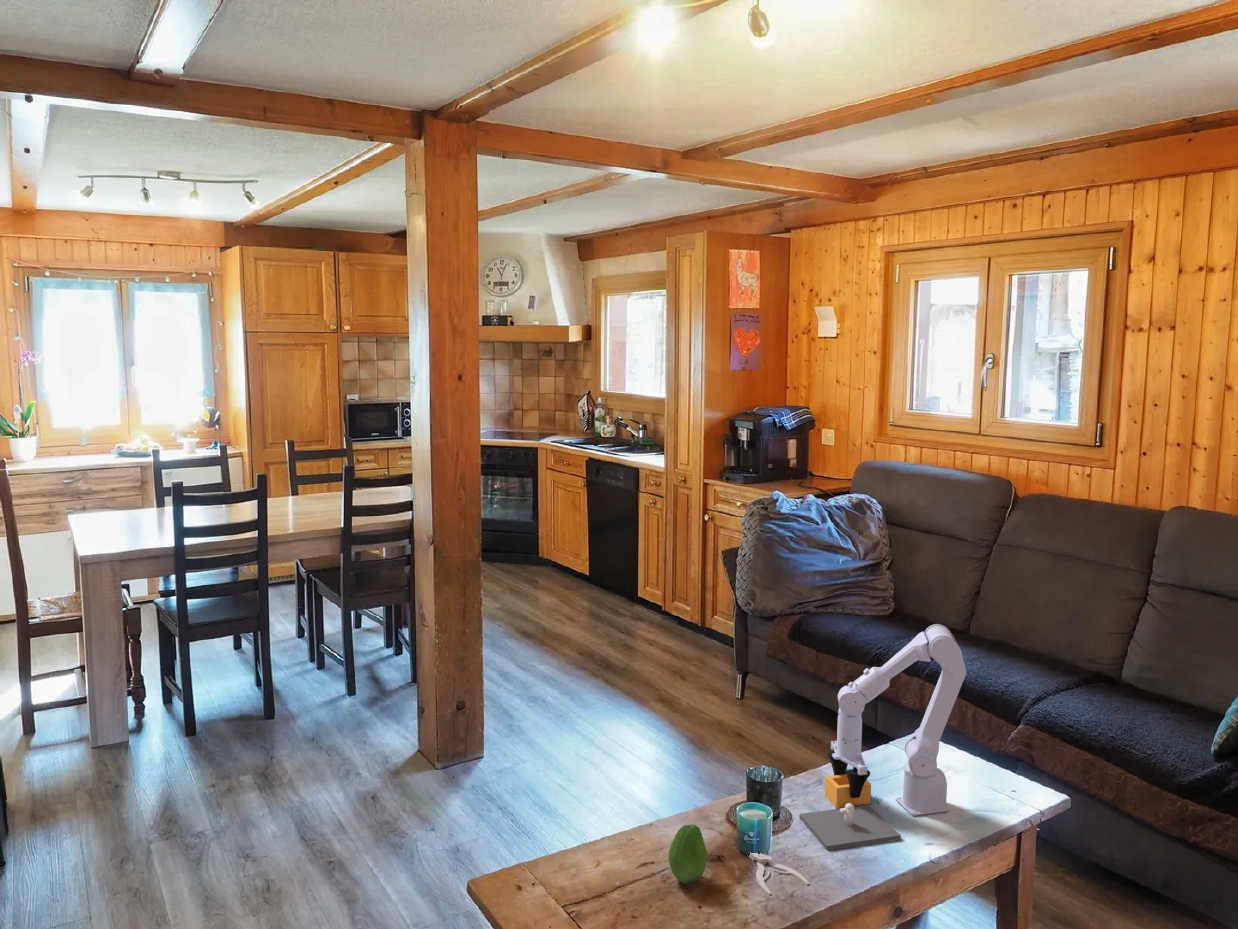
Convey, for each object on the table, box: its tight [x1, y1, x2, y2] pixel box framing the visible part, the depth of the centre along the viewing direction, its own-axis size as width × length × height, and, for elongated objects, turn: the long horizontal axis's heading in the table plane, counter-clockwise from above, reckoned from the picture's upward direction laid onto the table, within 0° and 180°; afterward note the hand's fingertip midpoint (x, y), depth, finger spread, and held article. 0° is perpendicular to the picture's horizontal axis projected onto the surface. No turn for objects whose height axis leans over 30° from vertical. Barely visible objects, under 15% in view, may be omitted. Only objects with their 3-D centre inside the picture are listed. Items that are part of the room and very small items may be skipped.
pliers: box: [748, 852, 810, 896], centre depth 187 cm, size 10×2×15 cm
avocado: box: [668, 823, 708, 884], centre depth 183 cm, size 8×8×12 cm
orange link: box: [824, 774, 872, 809], centre depth 216 cm, size 9×6×5 cm, turn 104°
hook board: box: [799, 803, 902, 851], centre depth 203 cm, size 18×14×6 cm
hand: (847, 789), depth 216 cm, fingers open, 7 cm apart
